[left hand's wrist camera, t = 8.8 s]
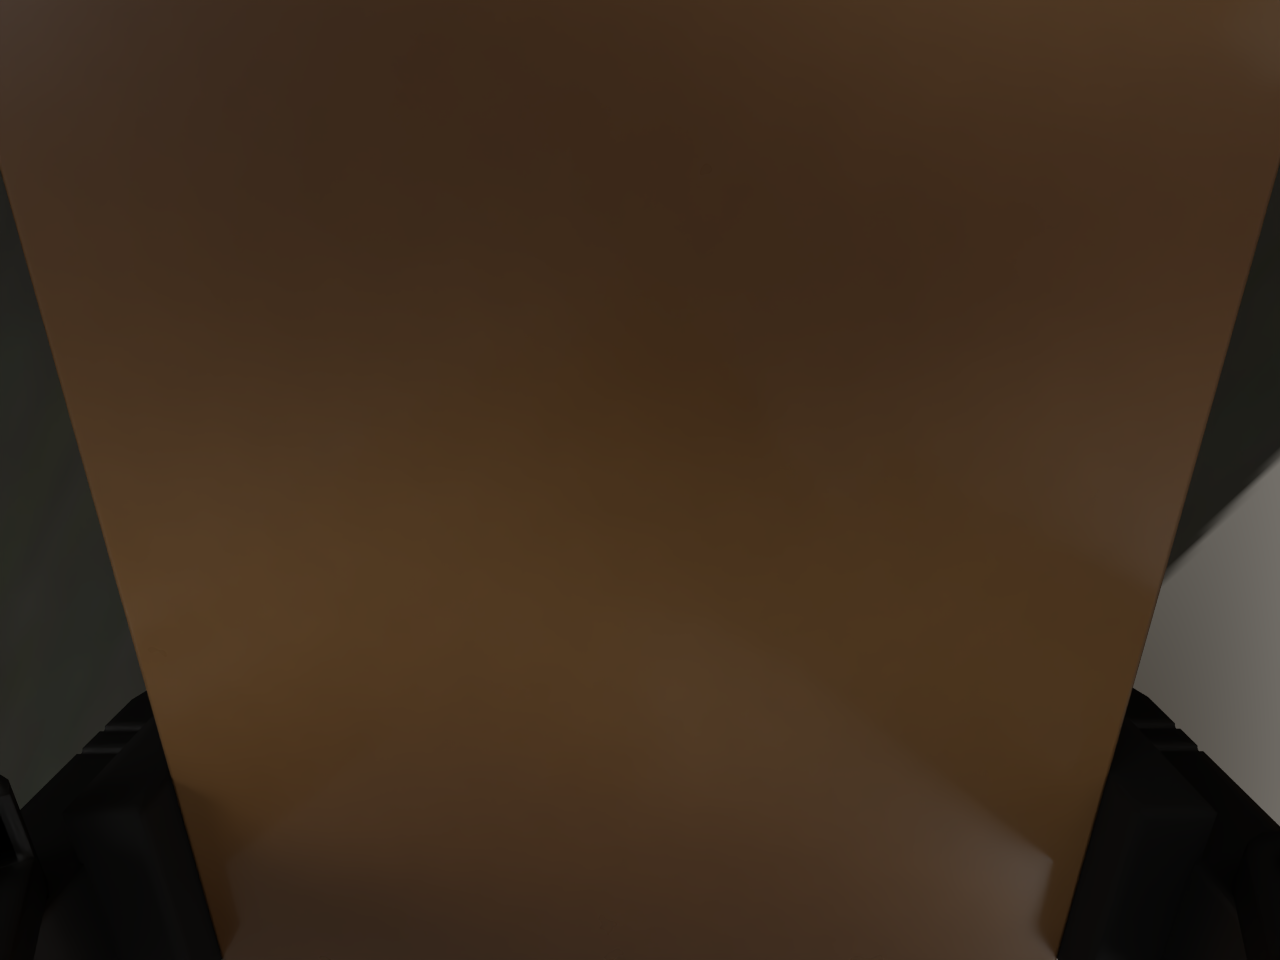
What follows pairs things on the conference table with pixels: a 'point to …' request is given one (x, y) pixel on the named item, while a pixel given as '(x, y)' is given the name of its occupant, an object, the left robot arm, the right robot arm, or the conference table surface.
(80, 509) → the conference table surface
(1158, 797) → the left robot arm
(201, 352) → the wide beam
